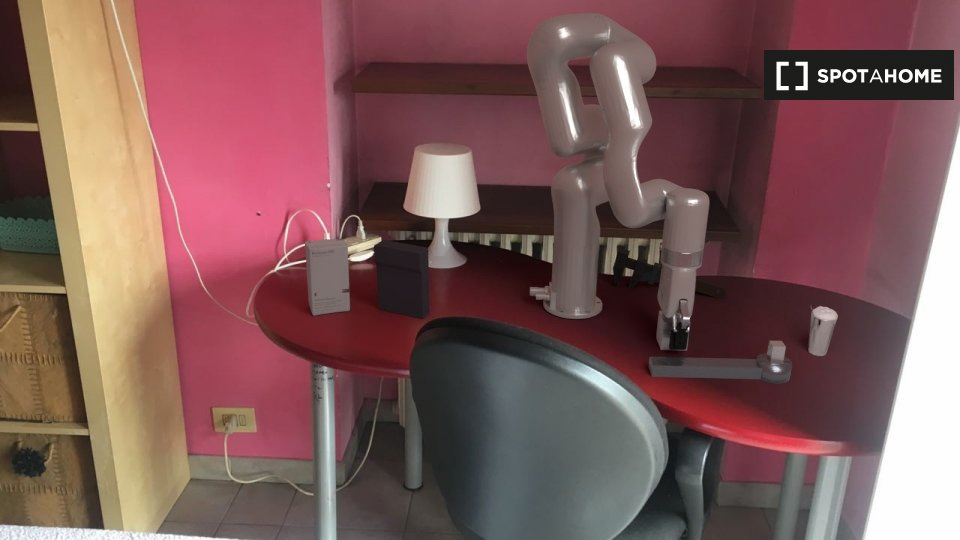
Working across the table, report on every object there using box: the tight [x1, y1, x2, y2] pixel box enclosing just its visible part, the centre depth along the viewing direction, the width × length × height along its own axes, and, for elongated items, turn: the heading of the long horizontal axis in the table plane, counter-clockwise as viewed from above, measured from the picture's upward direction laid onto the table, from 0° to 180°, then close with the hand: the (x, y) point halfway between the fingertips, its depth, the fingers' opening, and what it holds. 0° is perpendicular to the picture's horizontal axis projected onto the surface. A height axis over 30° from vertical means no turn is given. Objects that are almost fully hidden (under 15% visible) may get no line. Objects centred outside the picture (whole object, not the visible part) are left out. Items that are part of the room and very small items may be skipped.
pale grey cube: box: [655, 310, 691, 351], centre depth 147 cm, size 5×5×6 cm
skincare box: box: [304, 238, 351, 317], centre depth 159 cm, size 8×6×15 cm
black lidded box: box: [373, 239, 431, 320], centre depth 158 cm, size 11×4×15 cm, turn 65°
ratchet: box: [648, 340, 793, 385], centre depth 137 cm, size 25×6×6 cm, turn 88°
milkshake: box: [807, 304, 839, 357], centre depth 144 cm, size 4×5×10 cm
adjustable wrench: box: [612, 247, 727, 299], centre depth 171 cm, size 8×3×25 cm
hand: (672, 337), depth 148 cm, fingers open, 9 cm apart
